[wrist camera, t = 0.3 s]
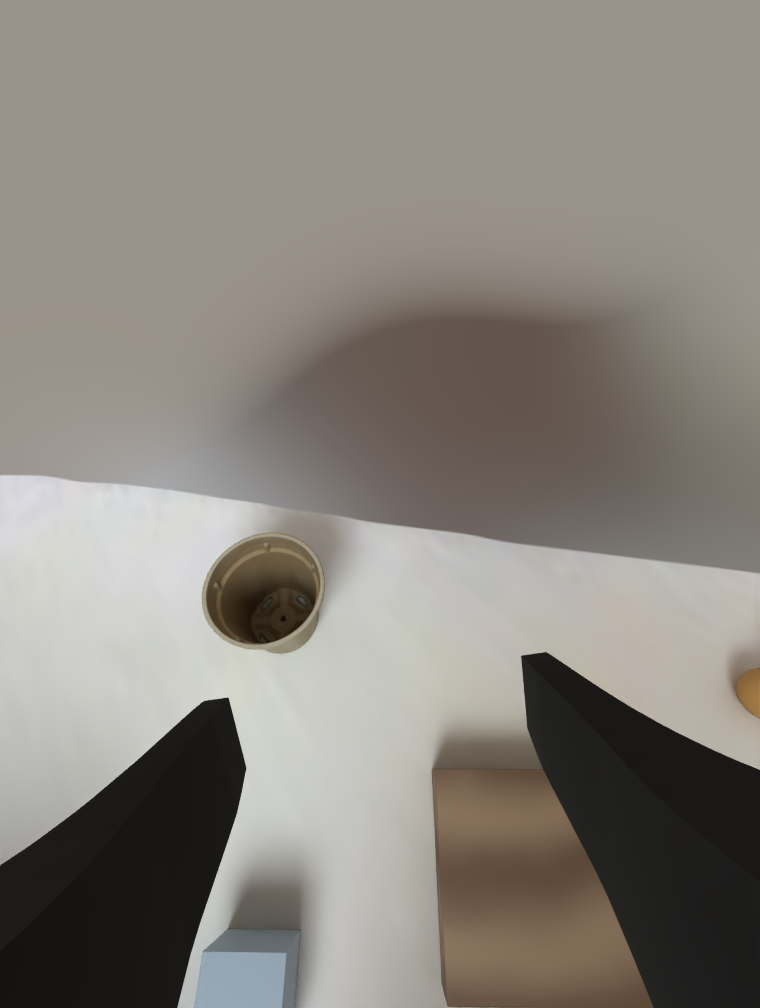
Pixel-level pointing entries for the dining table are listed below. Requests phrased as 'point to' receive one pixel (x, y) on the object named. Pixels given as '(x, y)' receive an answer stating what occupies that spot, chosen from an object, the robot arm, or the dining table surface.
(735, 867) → the robot arm
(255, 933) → the slate cube
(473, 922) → the walnut base block
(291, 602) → the flower pot
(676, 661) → the dining table surface
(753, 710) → the figurine
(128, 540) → the dining table surface
